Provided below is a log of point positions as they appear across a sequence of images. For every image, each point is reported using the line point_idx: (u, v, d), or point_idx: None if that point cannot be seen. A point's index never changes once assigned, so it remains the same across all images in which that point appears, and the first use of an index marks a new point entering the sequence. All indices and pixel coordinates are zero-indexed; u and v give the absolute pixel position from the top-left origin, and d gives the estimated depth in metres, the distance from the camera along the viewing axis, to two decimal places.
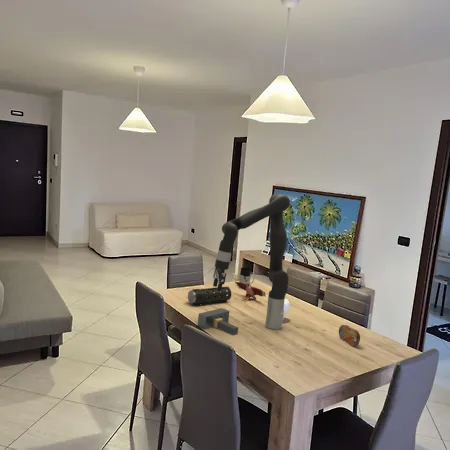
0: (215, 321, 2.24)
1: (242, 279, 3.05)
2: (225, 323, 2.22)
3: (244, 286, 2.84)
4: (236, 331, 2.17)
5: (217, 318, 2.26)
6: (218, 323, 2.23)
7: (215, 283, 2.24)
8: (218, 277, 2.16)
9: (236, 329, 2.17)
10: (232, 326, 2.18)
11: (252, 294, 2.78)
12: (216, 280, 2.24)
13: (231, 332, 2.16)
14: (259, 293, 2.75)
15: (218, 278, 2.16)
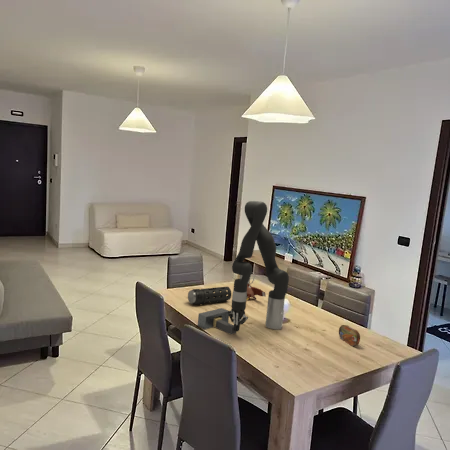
0: (214, 320, 2.25)
1: None
2: (224, 322, 2.22)
3: None
4: None
5: (216, 317, 2.27)
6: (217, 322, 2.24)
7: None
8: (237, 319, 2.13)
9: None
10: (230, 325, 2.19)
11: (252, 294, 2.78)
12: None
13: (229, 331, 2.17)
14: (259, 293, 2.75)
15: (237, 320, 2.13)
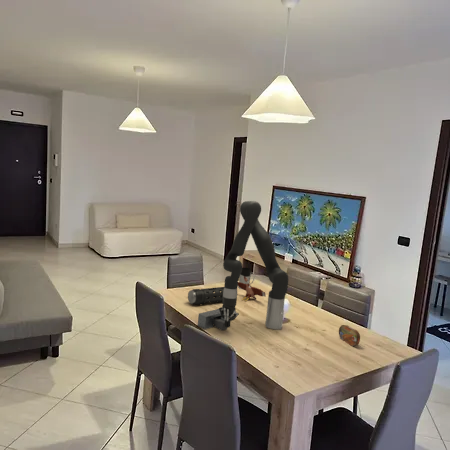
0: None
1: (242, 279, 3.05)
2: (216, 318, 2.27)
3: (244, 286, 2.84)
4: None
5: None
6: None
7: None
8: (228, 315, 2.18)
9: None
10: (222, 321, 2.24)
11: (252, 294, 2.78)
12: None
13: (220, 327, 2.22)
14: (259, 293, 2.75)
15: (228, 316, 2.18)
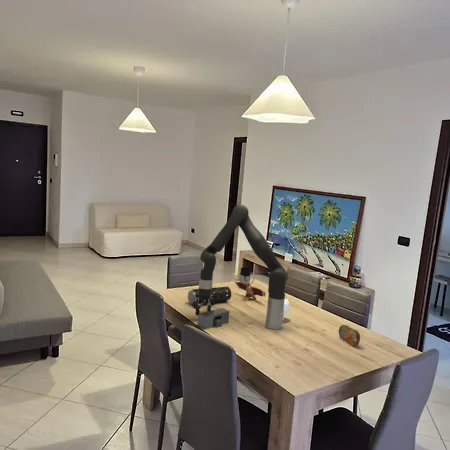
0: None
1: (242, 279, 3.05)
2: None
3: (244, 286, 2.84)
4: (220, 324, 2.26)
5: (204, 311, 2.36)
6: None
7: None
8: (210, 302, 2.35)
9: (220, 322, 2.25)
10: (217, 319, 2.27)
11: (252, 294, 2.78)
12: None
13: (215, 325, 2.25)
14: (259, 293, 2.75)
15: (210, 303, 2.35)
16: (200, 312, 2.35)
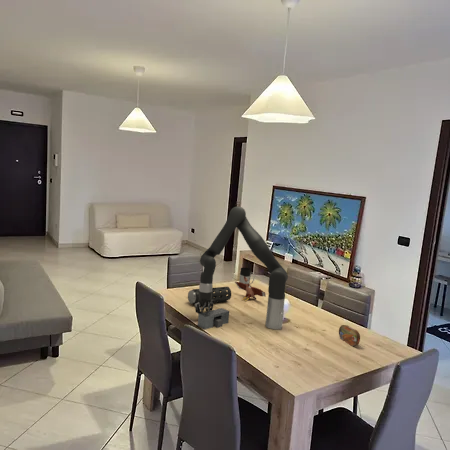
0: None
1: (242, 279, 3.05)
2: None
3: (244, 286, 2.84)
4: (221, 324, 2.26)
5: (203, 311, 2.35)
6: None
7: None
8: (209, 306, 2.35)
9: (221, 322, 2.26)
10: (217, 319, 2.27)
11: (252, 294, 2.78)
12: None
13: (216, 325, 2.25)
14: (259, 293, 2.75)
15: (209, 307, 2.35)
16: None
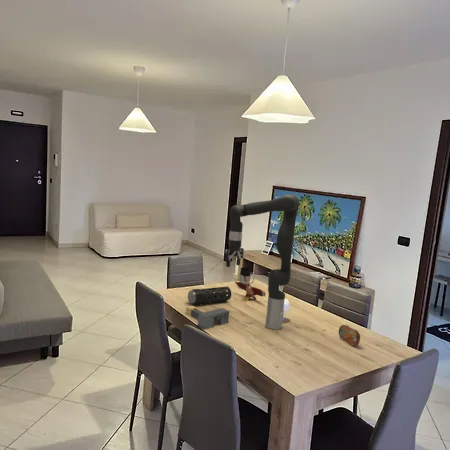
0: (189, 309, 2.39)
1: (242, 279, 3.05)
2: (198, 311, 2.37)
3: (244, 286, 2.84)
4: None
5: (191, 307, 2.41)
6: (192, 311, 2.38)
7: None
8: (240, 254, 2.43)
9: None
10: None
11: (252, 294, 2.78)
12: None
13: None
14: (259, 293, 2.75)
15: (240, 255, 2.43)
16: (187, 308, 2.41)
